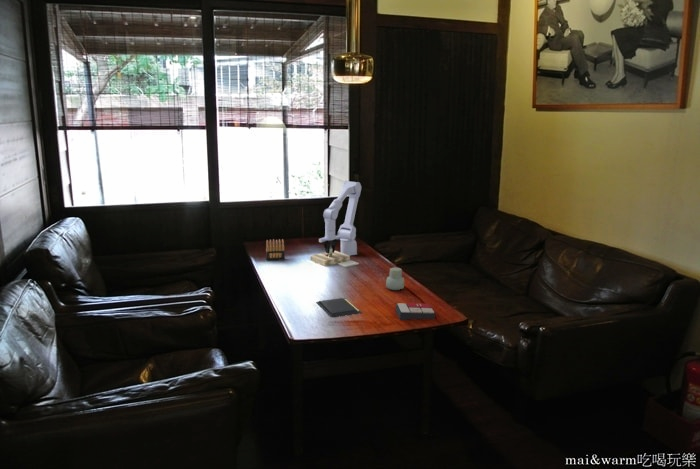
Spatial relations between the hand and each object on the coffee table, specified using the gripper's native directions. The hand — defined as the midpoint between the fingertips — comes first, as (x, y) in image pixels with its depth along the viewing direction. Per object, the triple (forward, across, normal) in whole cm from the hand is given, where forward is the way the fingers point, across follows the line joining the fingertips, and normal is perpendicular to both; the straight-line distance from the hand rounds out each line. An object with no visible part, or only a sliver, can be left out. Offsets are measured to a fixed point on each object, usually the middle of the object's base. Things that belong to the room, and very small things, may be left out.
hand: (330, 252), depth 308 cm
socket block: (+5, 0, 0) cm, 5 cm away
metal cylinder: (+2, 0, 0) cm, 3 cm away
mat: (+5, -4, +12) cm, 13 cm away
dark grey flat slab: (+6, +41, +62) cm, 75 cm away
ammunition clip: (+5, +24, -21) cm, 32 cm away
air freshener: (+5, +3, +58) cm, 58 cm away
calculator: (+6, +20, +88) cm, 91 cm away
